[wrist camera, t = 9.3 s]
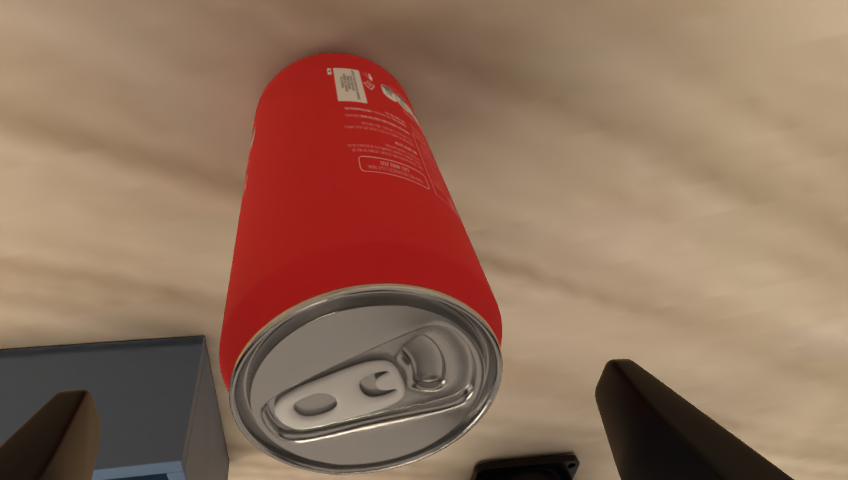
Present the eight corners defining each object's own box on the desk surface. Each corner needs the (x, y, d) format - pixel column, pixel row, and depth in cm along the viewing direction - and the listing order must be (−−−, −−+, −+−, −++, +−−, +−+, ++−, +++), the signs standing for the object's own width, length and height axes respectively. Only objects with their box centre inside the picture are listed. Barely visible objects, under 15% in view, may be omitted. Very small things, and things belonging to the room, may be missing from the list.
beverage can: (425, 159, 21) (535, 431, 11) (293, 203, 21) (289, 511, 11) (383, 20, 18) (486, 231, 8) (228, 72, 18) (147, 343, 8)
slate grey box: (181, 460, 19) (216, 587, 24) (204, 335, 24) (229, 462, 29) (-252, 508, 17) (-112, 637, 22) (-128, 358, 21) (-38, 492, 26)
